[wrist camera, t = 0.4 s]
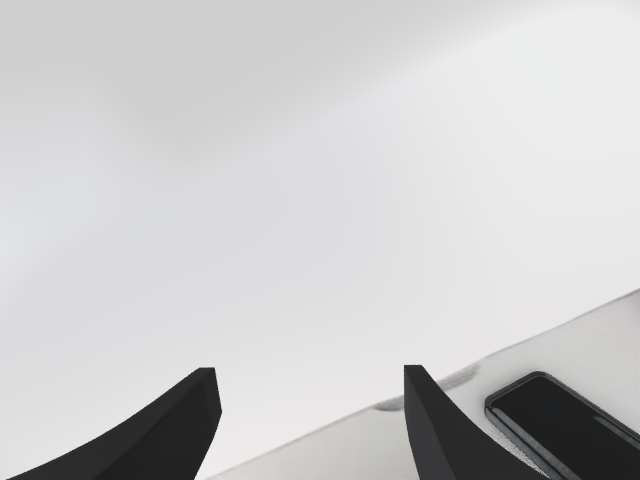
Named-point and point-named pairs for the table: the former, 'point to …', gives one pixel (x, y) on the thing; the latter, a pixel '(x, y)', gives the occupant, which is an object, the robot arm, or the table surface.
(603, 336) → the table surface
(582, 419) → the phone
